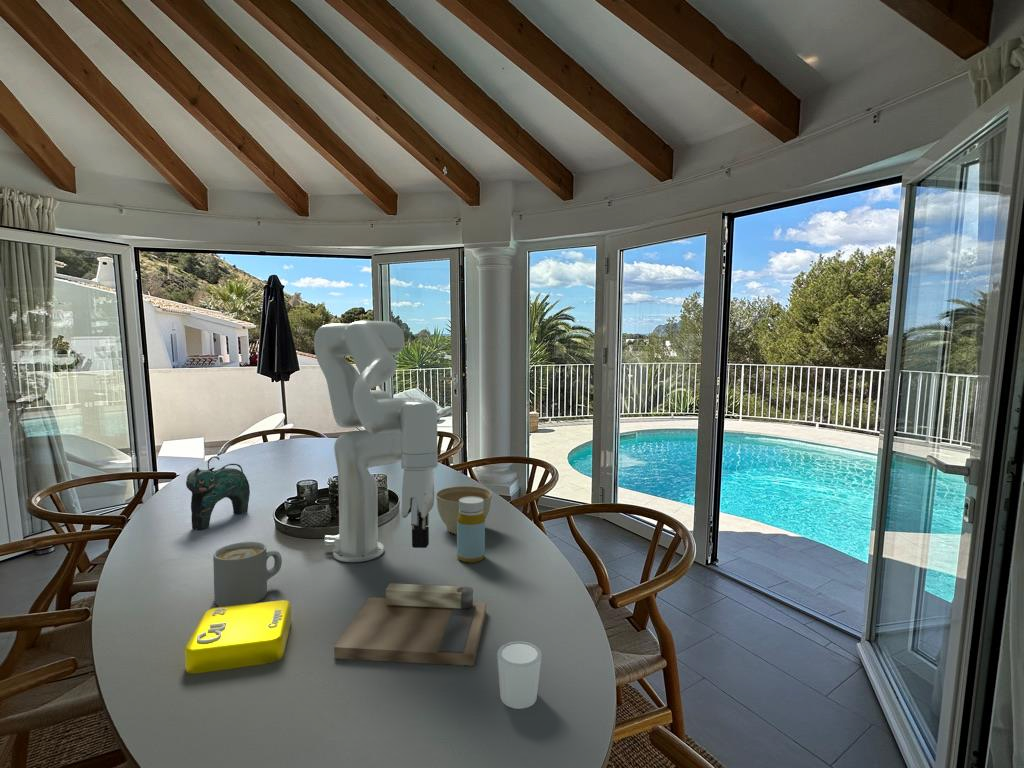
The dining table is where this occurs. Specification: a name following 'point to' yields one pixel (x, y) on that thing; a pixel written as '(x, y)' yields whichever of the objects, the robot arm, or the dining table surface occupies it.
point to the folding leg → (429, 596)
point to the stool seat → (413, 634)
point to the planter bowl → (450, 503)
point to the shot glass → (519, 673)
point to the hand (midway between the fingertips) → (420, 546)
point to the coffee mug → (242, 573)
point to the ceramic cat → (216, 492)
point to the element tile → (239, 637)
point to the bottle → (471, 529)
